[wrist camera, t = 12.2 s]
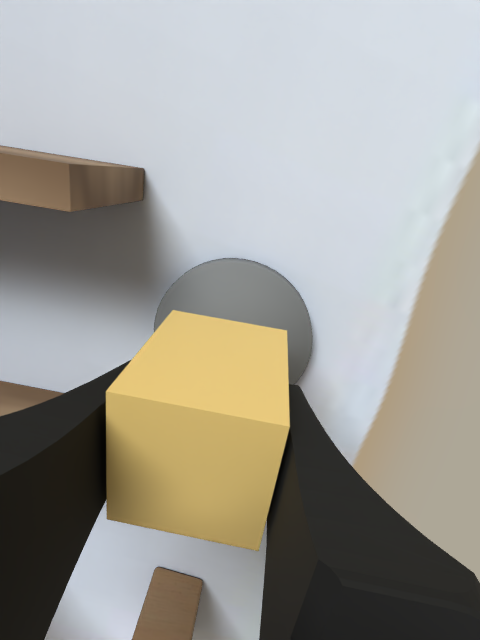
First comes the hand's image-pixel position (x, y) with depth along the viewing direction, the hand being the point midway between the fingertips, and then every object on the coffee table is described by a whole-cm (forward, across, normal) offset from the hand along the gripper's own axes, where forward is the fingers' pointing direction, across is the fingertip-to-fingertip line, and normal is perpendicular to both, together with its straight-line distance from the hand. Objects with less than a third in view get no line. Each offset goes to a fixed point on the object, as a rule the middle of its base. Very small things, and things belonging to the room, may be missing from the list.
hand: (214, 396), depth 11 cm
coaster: (+5, 0, 0) cm, 5 cm away
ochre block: (+2, 0, 0) cm, 2 cm away
